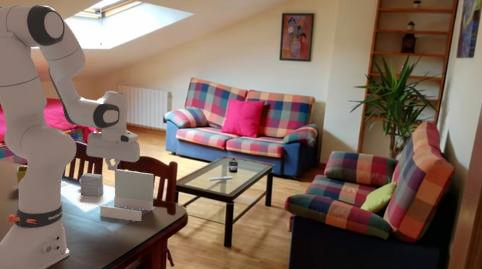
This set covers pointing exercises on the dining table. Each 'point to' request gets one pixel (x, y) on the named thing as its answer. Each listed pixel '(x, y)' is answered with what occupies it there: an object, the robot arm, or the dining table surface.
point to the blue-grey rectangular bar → (129, 208)
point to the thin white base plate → (126, 213)
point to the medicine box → (91, 184)
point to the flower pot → (21, 173)
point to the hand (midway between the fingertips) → (112, 170)
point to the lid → (134, 185)
